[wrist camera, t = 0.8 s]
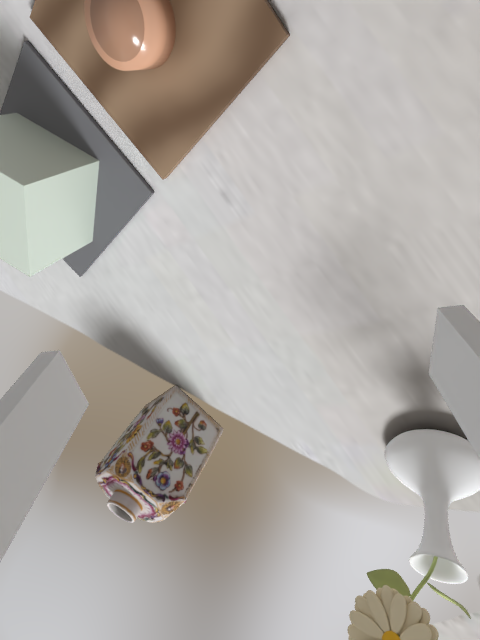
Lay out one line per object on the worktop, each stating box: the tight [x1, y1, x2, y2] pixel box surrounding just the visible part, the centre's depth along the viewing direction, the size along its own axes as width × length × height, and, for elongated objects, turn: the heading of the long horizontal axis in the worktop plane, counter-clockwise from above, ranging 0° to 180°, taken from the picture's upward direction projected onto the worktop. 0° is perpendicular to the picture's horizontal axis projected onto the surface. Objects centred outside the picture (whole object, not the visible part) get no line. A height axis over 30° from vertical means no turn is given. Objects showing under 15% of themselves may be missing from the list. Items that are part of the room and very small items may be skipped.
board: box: [30, 0, 290, 179], centre depth 30 cm, size 18×17×1 cm
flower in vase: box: [348, 429, 480, 640], centre depth 36 cm, size 13×11×25 cm
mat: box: [0, 41, 154, 277], centre depth 43 cm, size 18×20×1 cm
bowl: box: [84, 0, 176, 71], centre depth 28 cm, size 6×6×4 cm
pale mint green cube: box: [0, 113, 99, 277], centre depth 39 cm, size 11×11×10 cm
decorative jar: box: [95, 386, 223, 523], centre depth 56 cm, size 12×12×18 cm
